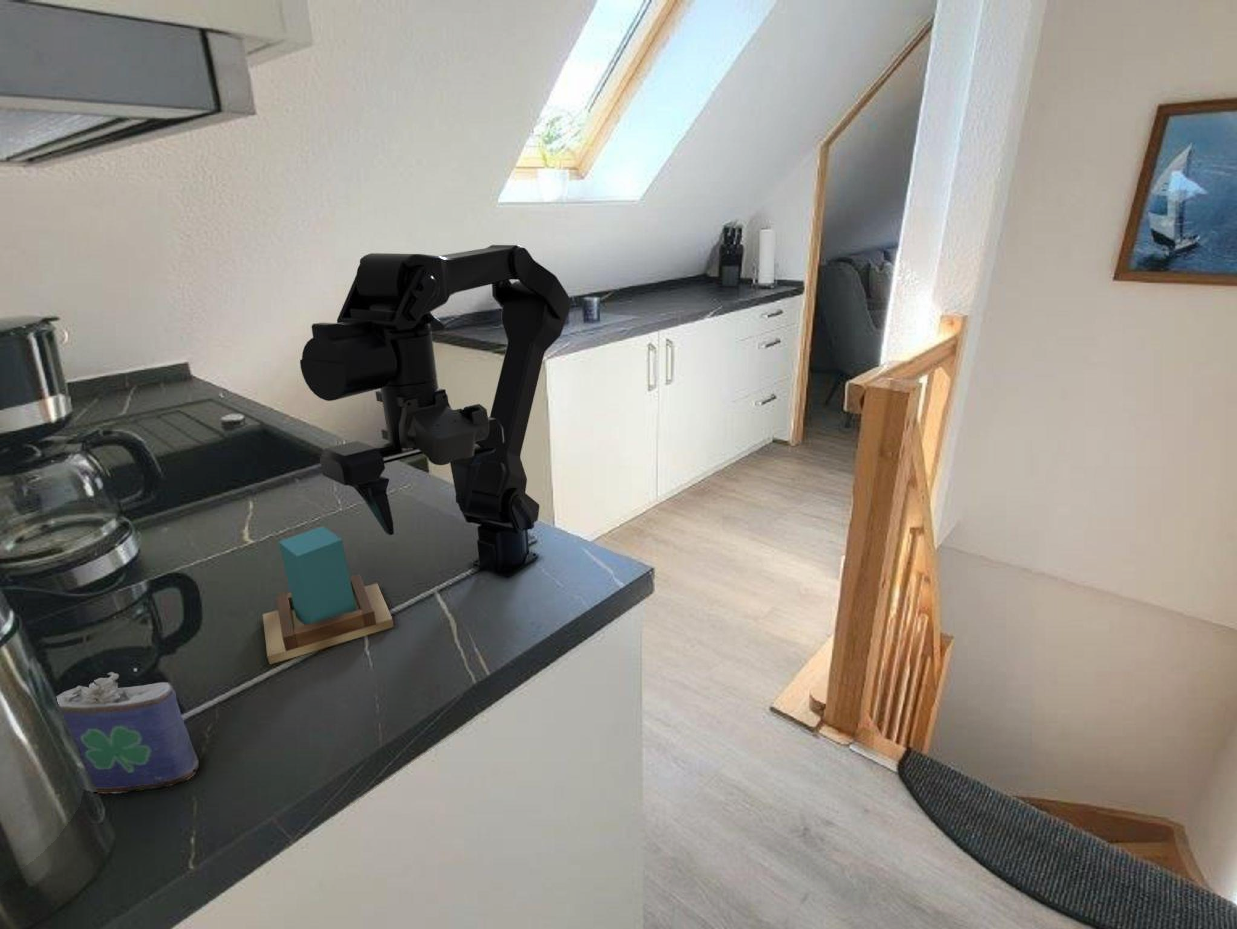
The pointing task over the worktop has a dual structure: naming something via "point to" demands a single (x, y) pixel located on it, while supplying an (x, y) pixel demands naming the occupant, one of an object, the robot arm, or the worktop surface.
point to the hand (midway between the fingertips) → (428, 520)
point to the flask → (129, 734)
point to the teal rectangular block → (317, 575)
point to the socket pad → (324, 624)
